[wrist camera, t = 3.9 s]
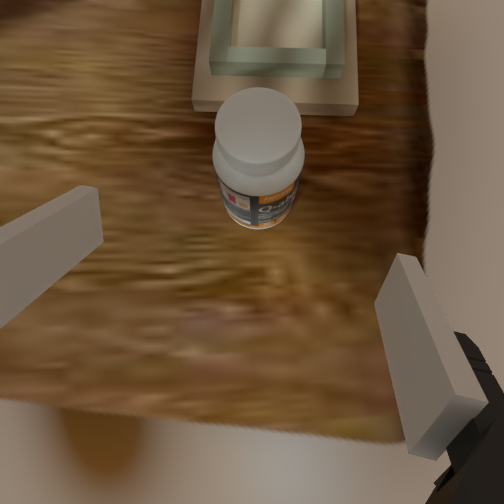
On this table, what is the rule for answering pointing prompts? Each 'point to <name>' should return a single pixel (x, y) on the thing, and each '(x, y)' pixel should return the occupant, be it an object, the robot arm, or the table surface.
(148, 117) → the table surface
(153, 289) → the table surface
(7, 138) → the table surface
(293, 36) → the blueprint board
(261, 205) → the pill bottle
